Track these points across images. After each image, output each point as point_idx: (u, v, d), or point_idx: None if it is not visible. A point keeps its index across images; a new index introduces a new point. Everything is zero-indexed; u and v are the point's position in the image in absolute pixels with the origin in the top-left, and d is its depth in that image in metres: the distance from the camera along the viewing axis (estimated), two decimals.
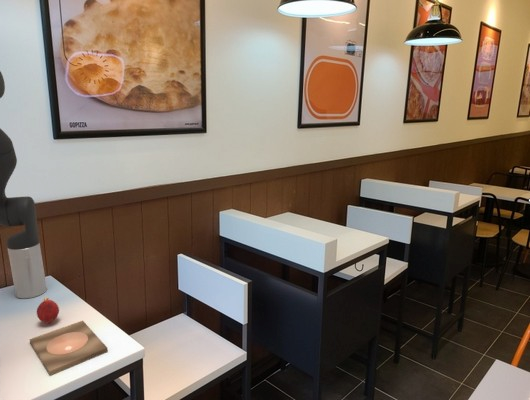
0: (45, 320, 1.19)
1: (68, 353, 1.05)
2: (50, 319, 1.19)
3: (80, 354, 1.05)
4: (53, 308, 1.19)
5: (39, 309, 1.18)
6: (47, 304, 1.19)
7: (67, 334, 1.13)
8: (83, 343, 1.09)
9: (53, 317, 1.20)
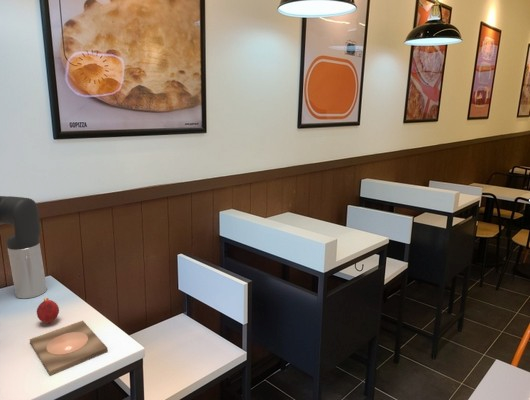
0: (45, 320, 1.19)
1: (68, 353, 1.05)
2: (50, 319, 1.19)
3: (80, 354, 1.05)
4: (53, 308, 1.19)
5: (39, 309, 1.18)
6: (47, 304, 1.19)
7: (67, 334, 1.13)
8: (83, 343, 1.09)
9: (53, 317, 1.20)
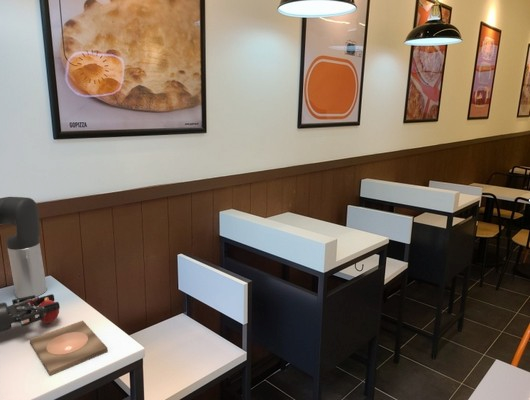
0: (45, 320, 1.19)
1: (68, 353, 1.05)
2: (50, 319, 1.19)
3: (80, 354, 1.05)
4: None
5: None
6: (47, 304, 1.19)
7: (67, 334, 1.13)
8: (83, 343, 1.09)
9: (53, 317, 1.20)
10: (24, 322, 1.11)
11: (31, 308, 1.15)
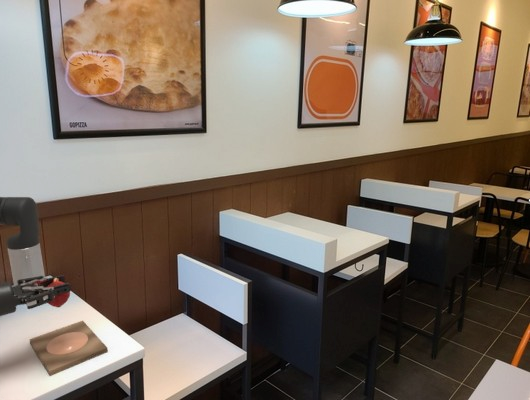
0: (54, 304, 1.04)
1: (68, 353, 1.05)
2: (60, 303, 1.05)
3: (80, 354, 1.05)
4: None
5: None
6: (57, 285, 1.04)
7: (67, 334, 1.13)
8: (83, 343, 1.09)
9: (63, 301, 1.05)
10: (31, 304, 0.96)
11: (39, 289, 1.00)
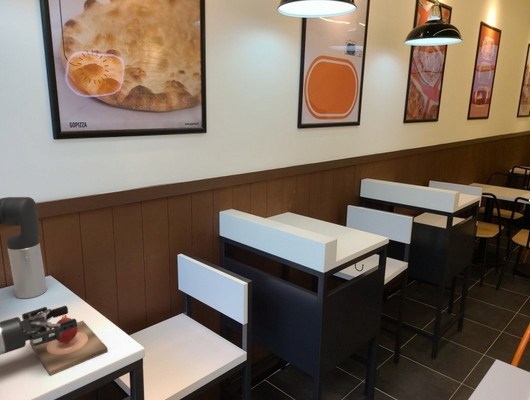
0: (63, 340, 1.06)
1: (68, 353, 1.05)
2: (68, 339, 1.07)
3: (80, 354, 1.05)
4: None
5: None
6: None
7: None
8: (83, 343, 1.09)
9: (72, 337, 1.07)
10: (36, 341, 0.98)
11: (46, 325, 1.02)
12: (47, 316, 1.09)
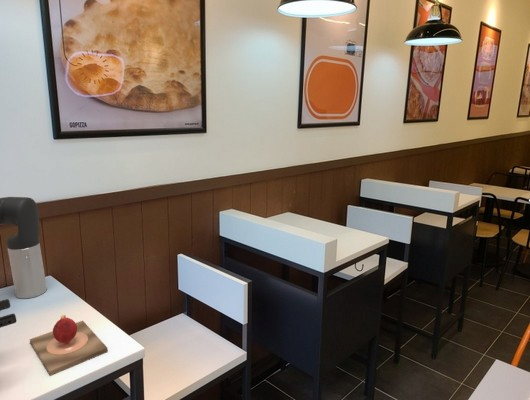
0: (62, 340, 1.06)
1: (68, 353, 1.05)
2: (68, 339, 1.07)
3: (80, 354, 1.05)
4: (71, 326, 1.07)
5: (56, 328, 1.06)
6: (64, 322, 1.07)
7: None
8: (83, 343, 1.09)
9: (71, 337, 1.07)
10: None
11: None
12: None
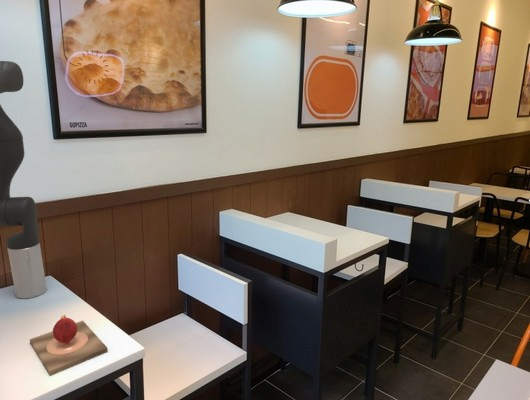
0: (62, 340, 1.06)
1: (68, 353, 1.05)
2: (68, 339, 1.07)
3: (80, 354, 1.05)
4: (71, 326, 1.07)
5: (56, 328, 1.06)
6: (64, 322, 1.07)
7: None
8: (83, 343, 1.09)
9: (71, 337, 1.07)
10: None
11: None
12: None
